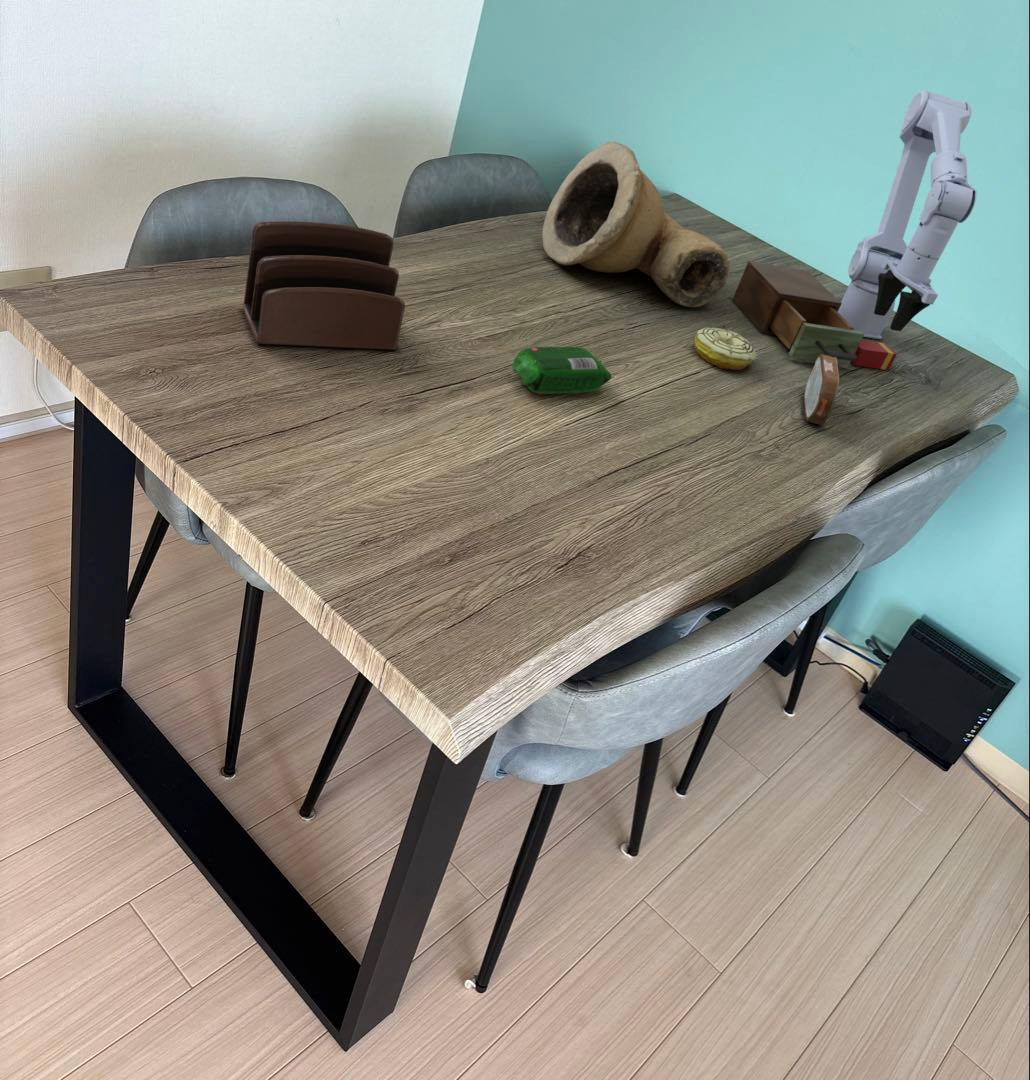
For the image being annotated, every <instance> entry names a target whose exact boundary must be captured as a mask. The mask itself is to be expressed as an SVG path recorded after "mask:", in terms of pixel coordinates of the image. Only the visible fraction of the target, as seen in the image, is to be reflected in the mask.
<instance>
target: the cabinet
mask: <svg viewBox="0 0 1030 1080" xmlns="http://www.w3.org/2000/svg"><path fill="white" fill-rule="evenodd" d="M781 298H785V299H791V300H798V301H804V302H810V303H817V304H823V305H829V306H832V307H833V308H834V309H835V310H836V311H837V312H838V310H839V308H840V306H841V304H842V303H841V301H840V300H839V299H838V298H837V297H836V296H835V295H834V294H833V293H832V292H831V291H830V290H828V288H827V287H826V286H824V284H822V283H821V282H820V281H819V280H818V279H817V278H816V277H815V276H814V275H813V274H812V273H811V272H810V271H809V270H803V269H797V268H793V267H786V266H779V265H775V264H770V263H762V262H757V261H751V260H748V261H747V264H746V266H745V269H744V271H743V274H742V275H741V278H740V280H739V283H738V286H737V288H736V290H735V292H734V295H733V296H732V299H731V300H732V302H734V303H735V305H736V306H737V307H738V308H739V310H741V312H742V313H743V314H744V315H745V316H746V317H747V319H749V321H750V322H751V323H752V325H754V327H755V328H756V329H757V330H758V331H759V332H760V333H761V334H763V335H768V336H769V335H770V336H777V335H776V334H775V333H774V332H773V331H772V330H771V329H770V327H769V325H770V322H771V320H772V318H773V316H774V313H775V311H776V309H777V307H778V304H779V302H780V300H781ZM777 337H778V336H777Z"/></svg>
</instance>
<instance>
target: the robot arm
mask: <svg viewBox="0 0 1030 1080" xmlns="http://www.w3.org/2000/svg"><path fill="white" fill-rule="evenodd" d="M971 116H972V107H971V104H970V103H969V102H962V101H961V100H958V99H953V98H950V97H948V96H944V95H941V94H938V93H936V92H935V93H934V92H932V91H929V90H927V89H926V88H923V89H921V90H920V91H918V92H917V93H916V94H915V95H913V97H912V100H911V101H910V103H909V105H908V106H907V108H906V111H905V114H904V117H903V122H902V125H901V128H900V133H899V139H900V140H901V141H902V143H903V149H902V152H901V156H900V160H899V161H898V166H897V168H896V172H895V175H894V178H893V182H892V185H891V188H890V191H889V195H888V198H887V201H886V204H885V207H884V210H883V213H882V216H881V220H880V222H879V225H878V229H877V232H876V233H874V234H871V235H869V236H866V237H865V238H863V239H861V240H860V241H859V243H857V246H856V249H855V252H854V253H853V254H852V257H851V259H850V261H849V265H848V269H847V274H848V277H849V279H850V280H851V281H850V283H849V285H848V287H847V289H846V290H845V293H844V295H843V297H842V299H841V301H840V302H841V303H842V304H841V306H840V308H839V310H838V313H839V314H840V315H841V316H842V317H843V318H844V319H845V320H846V321H847V322H848V323H849V324H850V325H851V326H852V327H853V328H854V329H853V330H856V331H862V332H863V333H864V336H863V338H869V339H876V340H882V338H883V336H881V335H882V333H883V330H884V329H885V327H886V325H887V323H888V321H889V319H890V317H891V315H892V313H893V312H894V309H895V306H896V299H897V297H898V296H899V301H898V305H897V309H896V311H895V314H894V316H893V318H892V321H891V323H890V327H889V328H890V330H892V331H896V332H902V331H903V329H905V327H906V326H907V325H908V323H910V322H911V320H912V319H914V317H916V316H917V315H918V314H919V313H921V312H922V311H923V310H924V309H926V308H929V306H931V305H934V303H935V301H936V299H937V298H938V296H939V294H938V293H937V292H936V291H935V290H934V288H933V286H932V285H931V283H932V279H930V277H931V275H932V273H933V271H934V269H936V266H937V263H938V262H939V260H940V258H941V256H942V254H943V253H944V251H945V249H946V247H947V245H948V244H949V241H950V239H951V238H952V235H953V234H954V232H955V230H956V228H957V226H958V225H959V224H963V223H964V222H965V221H966V220H967V219H968V218H969V217H970V215H971V214H972V212H973V209H974V208H975V205H976V202H977V189H976V188H975V187H972V185H973V184H970V183H968V182H969V181H968V166H967V158H966V156H965V154H963V152H961V151H960V149H961V135H962V134H963V132H964V131H965V130H966V129H967V126H968V125H969V122H970V120H971ZM933 153H935V155H936V156H935V157H933V158H932V161H931V162H930V187H931V189H929V191H928V193H927V196H926V198H925V202H924V206H923V208H922V211H921V213H920V217H919V221H920V222H919V223H918V225H917V227H916V229H915V231H914V233H913V235H912V237H911V239H910V241H909V243H908V244H907V243H906V241H905V240H904V236H905V233H906V230H907V228H908V224H909V221H910V218H911V215H912V212H913V209H914V207H915V202H916V200H917V196H918V193H919V190H920V187H921V183H922V181H923V177H924V174H925V171H926V167H927V165H928V162H929V159H930V156H931V155H932V154H933ZM906 287H907V289H909V290H910V291H911V292H909V291H904V289H905V288H906Z"/></svg>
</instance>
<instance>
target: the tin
mask: <svg viewBox="0 0 1030 1080" xmlns="http://www.w3.org/2000/svg"><path fill="white" fill-rule="evenodd" d="M839 387H840V371H839V364H837V358H836V357H831V356H827V355H823V354H821V355H819V356H818V357H817V359H816V361H814V365H813V368H812V369H811V373H810V375H809V376H808V378H807V381H806V385H805V389H804V394H803V404H804V417H805V420H806V422H808V423H811V424H815V425H818V426H820V427H822V426H824V425H825V424H826V422H827V421H828V419H829V417H830V415H831V413H832V410H833V407H834V405H835V403H836V399H837V395H838V392H839Z"/></svg>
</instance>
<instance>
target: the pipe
mask: <svg viewBox="0 0 1030 1080" xmlns="http://www.w3.org/2000/svg"><path fill="white" fill-rule="evenodd" d="M541 240H542V246H543V249H544V251H545V253H546V255H547V256H548V257H549V258H550V259H551V261H552V260H553V261H554V262H555V263H556V264H559V265H562V266H573V265H576V264H579V265H581V266H582V267H583V268H585V269H588V270H590V271H594V272H599V273H625V272H629V271H632V270H635V269H637V270H639V271H640V272H641V273H643V274H645V275H647V276H650V277H651V279H652V280H653V282H654V283H655V285H657V287H658V288H659V289H660V291H661V292H662V293H663V294H664V295H665V296H666V297H667V298H668V299H669V300H671V301H672V302H674V303H676V304H677V305H680V306H681V307H684V308H685V307H687V308H698V307H699V308H700V307H702V306H704V305H706V304H708V303H709V302H710V301H712V300H713V299H714V298H715V297H716V296H718V295H719V294H720V293H721V291H722V290H723V288H724V287H726V284H727V280H728V277H729V273H730V270H731V269H730V268H731V267H730V261H729V256H728V255H727V253H726V252H725V250H724V249H723V248H722V247H721V246H720V245H719V244H718V243H717V242H715V241H714V240H713V239H712V238H710V237H707V236H706V235H704V234H701V233H699V232H697V231H695V230H691V229H686V228H684V227H683V226H682V225H681V224H680V223H678V222H677V221H676V220H675V219H673V218H672V217H671V216H669V215H668V214H667V213H666V212H665V209H664V203H663V200H662V198H661V195H660V192H659V190H658V188H657V187H656V186H655V184H654V183H653V181H652V180H651V179H650V178H649V177H648V176H647V175H646V173H645V172H643V171H642V170H641V169H640V165H639V161H638V159H637V157H636V155H635V153H634V151H633V150H632V149H631V148H630V147H629V146H627V145H626V144H623V143H620V142H618V141H607V142H604V143H602V144H601V145H600V146H598V147H597V148H595V149H593V150H591V151H590V152H588V153H587V154H585V156H584V157H583V158H582V159H581V160H580V161H579V162H577V164H576V165H575V167H574V168H573V169H572V170H571V171H570V172H569V173H568V175H567V176H566V178H564V179H563V182H561V184H560V186H559V188H558V190H557V192H556V193H555V195H554V197H553V198H552V200H551V202H550V204H549V206H548V208H547V212H546V215H545V218H544V220H543V225H542V238H541Z"/></svg>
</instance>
